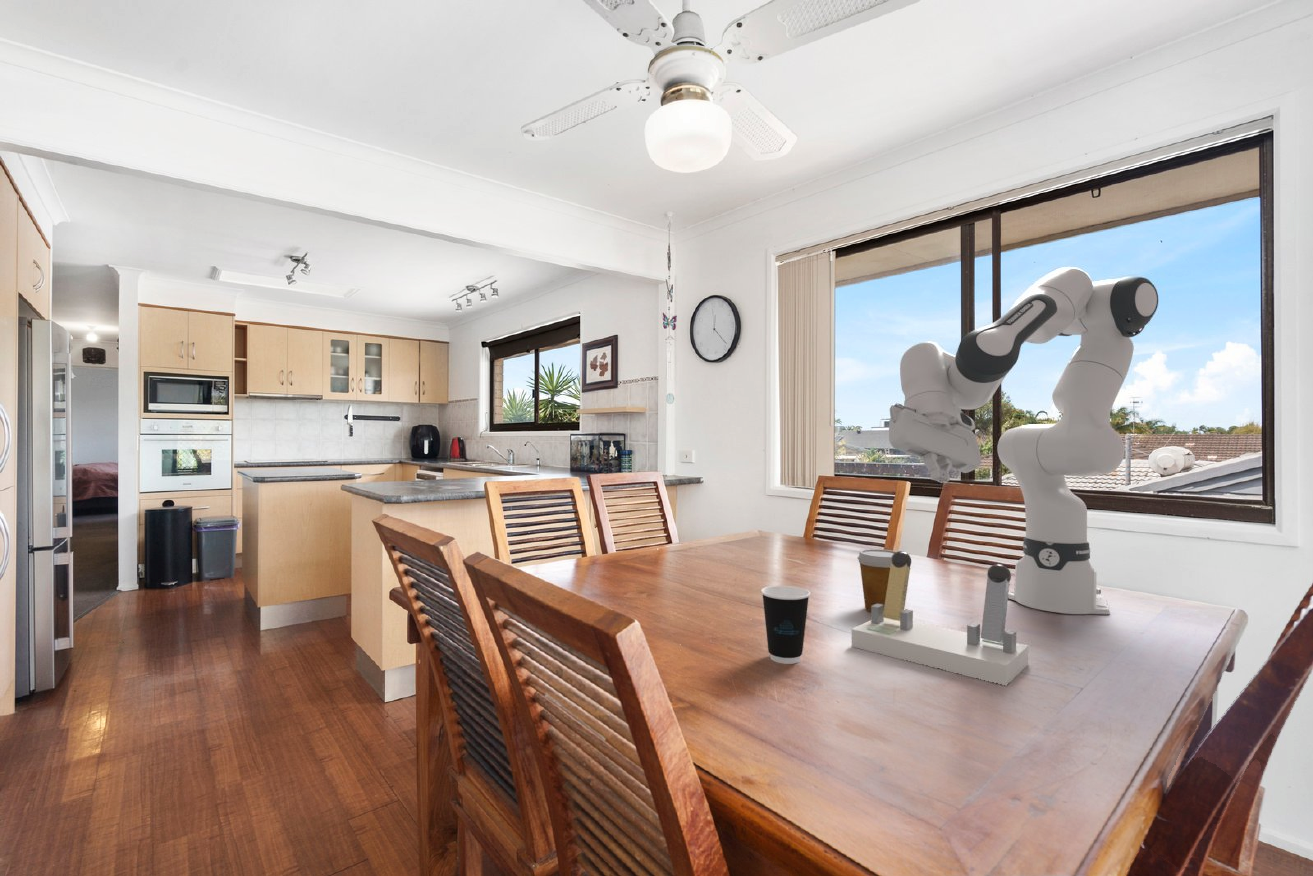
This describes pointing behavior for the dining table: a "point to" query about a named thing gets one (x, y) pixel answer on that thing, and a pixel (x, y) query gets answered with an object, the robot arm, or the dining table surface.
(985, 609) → the steel lever
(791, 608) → the dixie cup
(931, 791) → the dining table surface
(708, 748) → the dining table surface
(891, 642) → the switch panel
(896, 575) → the brass lever
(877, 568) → the disposable coffee cup
